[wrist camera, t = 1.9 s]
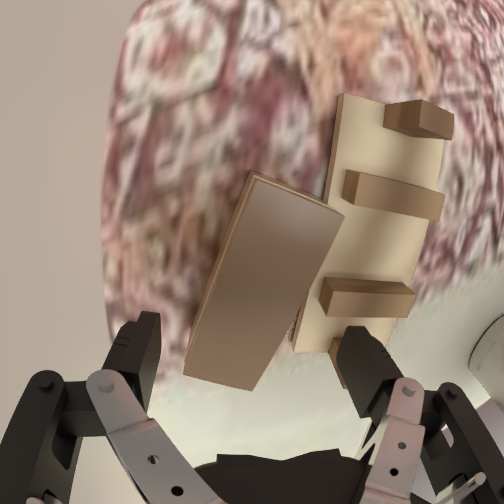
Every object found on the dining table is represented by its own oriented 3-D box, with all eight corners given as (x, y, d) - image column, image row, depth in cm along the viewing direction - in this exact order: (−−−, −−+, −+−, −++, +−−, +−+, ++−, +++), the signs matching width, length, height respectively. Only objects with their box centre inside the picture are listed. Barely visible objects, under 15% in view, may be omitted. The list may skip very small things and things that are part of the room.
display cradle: (437, 128, 16) (484, 131, 12) (379, 343, 23) (403, 382, 18) (338, 95, 15) (374, 81, 11) (291, 344, 22) (304, 390, 17)
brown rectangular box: (317, 196, 18) (346, 216, 13) (248, 344, 22) (252, 391, 17) (249, 168, 17) (256, 178, 12) (190, 327, 21) (181, 374, 16)
